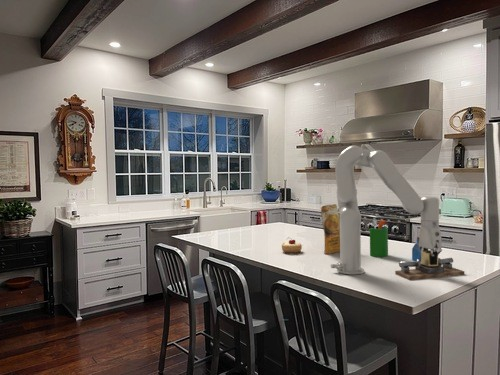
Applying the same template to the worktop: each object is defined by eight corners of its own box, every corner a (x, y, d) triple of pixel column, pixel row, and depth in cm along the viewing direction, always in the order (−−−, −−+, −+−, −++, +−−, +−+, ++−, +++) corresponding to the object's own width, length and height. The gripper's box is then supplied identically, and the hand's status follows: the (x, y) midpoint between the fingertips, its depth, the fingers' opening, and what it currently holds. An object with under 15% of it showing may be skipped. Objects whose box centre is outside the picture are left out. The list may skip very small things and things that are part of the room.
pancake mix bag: (317, 253, 225) (316, 205, 224) (336, 248, 238) (336, 203, 236) (326, 255, 220) (326, 206, 219) (346, 250, 233) (345, 204, 231)
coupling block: (438, 265, 176) (438, 251, 175) (428, 266, 174) (428, 252, 174) (430, 263, 180) (430, 249, 180) (421, 264, 179) (421, 249, 179)
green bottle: (376, 252, 224) (376, 218, 223) (391, 255, 218) (391, 219, 217) (367, 255, 217) (367, 220, 216) (382, 258, 211) (382, 221, 210)
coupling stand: (408, 279, 169) (408, 270, 169) (395, 274, 179) (395, 265, 179) (464, 274, 176) (464, 265, 176) (448, 269, 186) (448, 260, 186)
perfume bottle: (415, 258, 209) (415, 236, 209) (427, 259, 206) (427, 237, 205) (412, 260, 205) (412, 238, 204) (424, 262, 201) (424, 239, 200)
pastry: (300, 255, 224) (301, 240, 223) (280, 254, 226) (280, 239, 225) (302, 250, 235) (302, 236, 234) (283, 249, 238) (283, 235, 237)
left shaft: (416, 273, 179) (416, 258, 179) (421, 275, 175) (421, 260, 175) (398, 274, 179) (398, 259, 178) (402, 276, 175) (402, 261, 174)
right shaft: (441, 274, 178) (441, 258, 177) (433, 271, 181) (433, 257, 181) (454, 271, 181) (454, 256, 181) (447, 269, 185) (447, 255, 185)
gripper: (450, 226, 169) (450, 267, 170) (424, 221, 186) (424, 258, 186) (435, 227, 167) (435, 268, 168) (410, 221, 184) (410, 259, 185)
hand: (429, 262), depth 177 cm, fingers closed on coupling block, 5 cm apart
